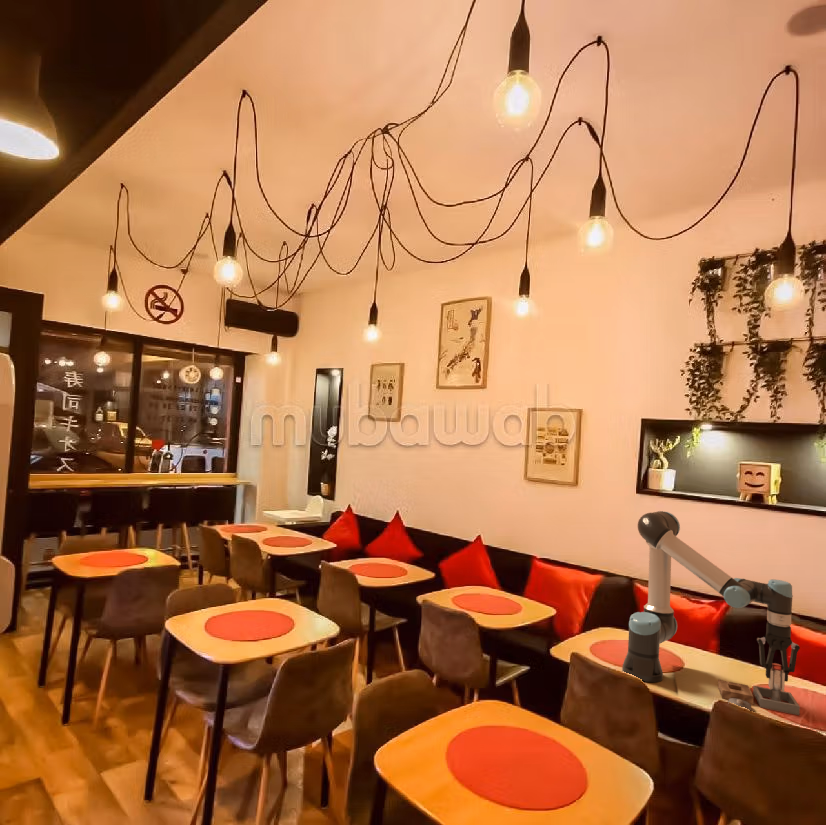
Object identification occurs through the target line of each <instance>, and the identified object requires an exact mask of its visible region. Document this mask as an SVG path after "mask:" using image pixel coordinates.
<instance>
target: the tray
mask: <svg viewBox="0 0 826 825" xmlns="http://www.w3.org/2000/svg"><path fill="white" fill-rule="evenodd" d="M752 690H753V691H752V694H753V696H754V699H755V700H756V701H757V704H758V706H759V708H760V709H761V708H763V709H767V710H771V711H777V712H780V713H781V712H782V713H786V714H790V715H796V716H800V711H801V710H800V709H801V706H800V704H799V703H798V702H797V700H796V699H795V697H794V696H793V694H792V692H788V691H785V690H784V691H782V690H781V702H779V701H775V700H771V689H770V688H769V687H763V686H758V685H753V689H752ZM768 698H769V699H768Z"/></svg>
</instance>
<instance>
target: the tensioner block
mask: <svg viewBox="0 0 826 825" xmlns="http://www.w3.org/2000/svg"><path fill="white" fill-rule="evenodd" d="M717 688H718V689H717V690H718V691H719V695H720V697H721V699H723V700H727V701H728V703H729V702H731V703H734V704H736V705H738V706H741V707H745V708H747V709H749V710H751V711H752V705H754V698H755V696H754V694H753V691H751V688H750V686H749V685H748V684H743V683H738V682H732V681H728V680H723V679H718V681H717Z"/></svg>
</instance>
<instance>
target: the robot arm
mask: <svg viewBox="0 0 826 825" xmlns="http://www.w3.org/2000/svg"><path fill="white" fill-rule="evenodd" d="M637 530H638V533H639V535H640V536H641V537H642V539H643V540H645V543H646V544H647V545H648V546H649V551H648V552H649V553H648V559H649V560H648V588H647V591H648V592H647V603H646V604H645V605H643V611H641V612H640V611H637V612H634V613H633V614H631V615H630V617H629V621H628V643H627V653H626V655H625V658H624V659H623V660H624V661H623V663H622V668H621V669H622V672H623V671H624V672H626V673H629V674H632V675H634V676H636V677H638V678H640V679H642V680H644V681H645V683H659V682H661V681H662V680H664V677H663V676H664V671H663V668H662V665H661V661H660V646H661V644H662V643H664V642H666V641H669V640H671V639H672V638H673V637H674V636H675V634H676V633H677V630H678V621H677V620H676V618H675V616H674V615H675V611H674V609H673V608H672V607H671V582H672V581H671V580H672V579H671V578H672V559H673V560H675V562H677V563H679V564H680V565H681V566H683V567H684V568H685V569H687V570H688V571H689V572H690V573H692V574H693V575H695V576H696V577H697V578H698V579H700V580H701V581H703V582H704V584H706V585H708V586H709V587H710V588H712V589H713V591H716V592H717V593H718V594H719V595H721V596H722V597H723V599H724V601H725V602H726V604H727V605H728V606H730V608H731V607H732V608H735V609H742V608H745V607H746V606H748V605H749V604H751V603H753V602H754V603H759V604H762V605H766V606H767V610H766V611H767V612H766V620H767V622H766V632H765V635H764V636H763V637H757V638H756V641H757V643H758V649H759V650H758V651H759V664H760V666H761V667H762V668H764V669H765V678H766V679H768V688H769V689H773V670H772V664H773V663H774V656H775V653H776V651H777V650H779V651H780V654H781V664H782V681H781V691H784V692H785V684H786V682H788V681H789V673H795V670H796V664H797V656H798V653H799V650H800V648H801V646H800V645H799V644H797V643H795V642H793V640H792V638H791V637H792V635H791V634H792V627H791V625H792V611H793V610H792V609H793V608H792V607H793V597H794V595H793V585H792V584H791V583H790V582H788V581H786V580H781V579H774V578H773V579H769V580H768V582H767V583H765V582H758V581H755V580H749V579H746V578H739V577H734V578H733V577H732V576H731V575H729V574H728V573H727V572H725V571H724V570H722V569H721V568H719V567H718V566H717V565H715V564H714V563H713V562H712V561H710V560H709V559H708V558H706V557H705V556H703V555H702V554H701V553H699V552H698V551H696V550H695V549H694V548H692V547H691V546H689V545H688V544H687V543H685V542H684V541H683V540H681V539H680V538H679V537H677V536H678V535H679V533H680V530H681V526H680V522H679V519H678V518H677V517H676V516H675V515H674V514H673V513H670V512H669V511H663V510H662V511H661V510H659V511H654V512H648V513H645V514H643V515H641V517H640V518H639V519H638V521H637ZM766 642H767V644H768V645H769V647H768V654H767V658H766V655H765V652H766V651H765V645H766ZM789 647H790V648H791V651H790V656H789V663H788V656H787V649H788V648H789ZM644 681H643V682H644Z"/></svg>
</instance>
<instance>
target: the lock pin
mask: <svg viewBox="0 0 826 825" xmlns="http://www.w3.org/2000/svg"><path fill="white" fill-rule="evenodd" d="M771 668H772V670H773V689H771V698H770V700H775V701H779V702H782V700H781V691H782V690H781V681H782V670H783V665H781V664H779V663H776V662H772V666H771Z"/></svg>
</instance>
